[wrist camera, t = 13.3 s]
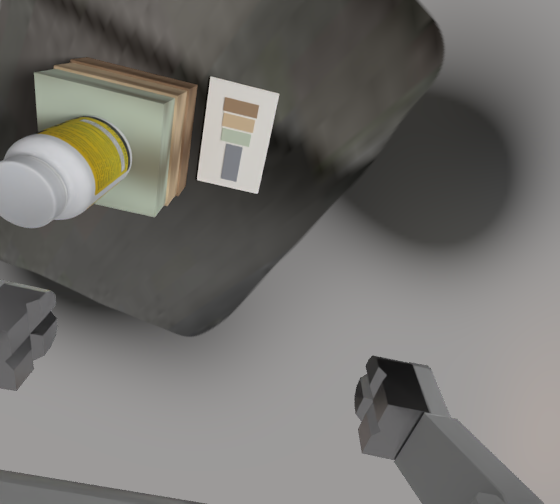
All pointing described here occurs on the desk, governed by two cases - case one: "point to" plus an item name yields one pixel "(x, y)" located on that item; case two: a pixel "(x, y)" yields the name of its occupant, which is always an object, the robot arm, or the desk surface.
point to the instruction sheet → (236, 134)
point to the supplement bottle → (62, 170)
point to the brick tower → (127, 124)
